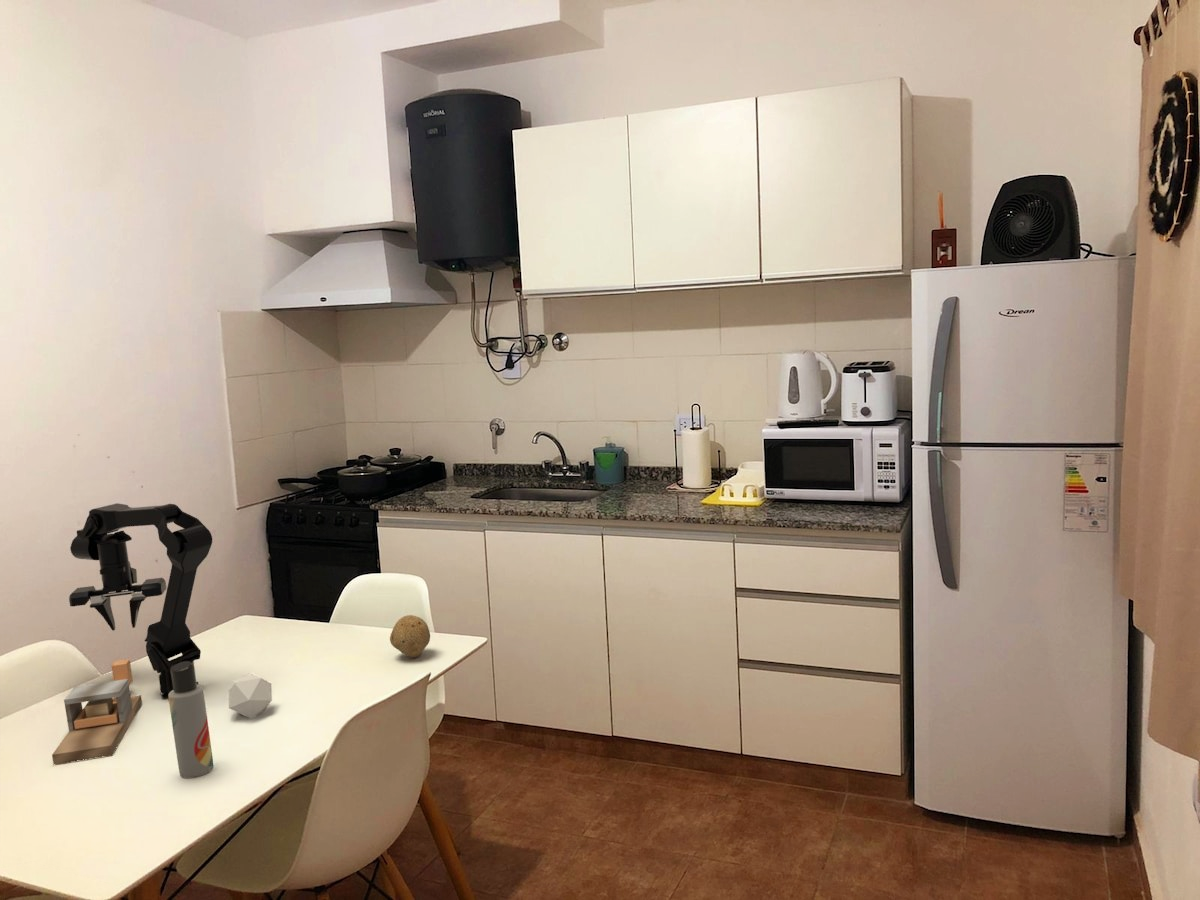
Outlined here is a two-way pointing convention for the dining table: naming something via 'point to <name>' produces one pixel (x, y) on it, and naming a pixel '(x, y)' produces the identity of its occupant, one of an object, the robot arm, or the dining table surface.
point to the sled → (120, 672)
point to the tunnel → (102, 736)
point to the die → (250, 695)
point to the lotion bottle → (189, 722)
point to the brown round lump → (410, 635)
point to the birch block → (99, 708)
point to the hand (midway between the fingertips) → (124, 628)
